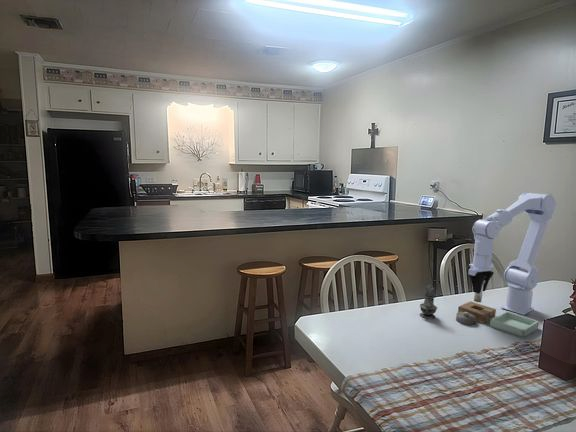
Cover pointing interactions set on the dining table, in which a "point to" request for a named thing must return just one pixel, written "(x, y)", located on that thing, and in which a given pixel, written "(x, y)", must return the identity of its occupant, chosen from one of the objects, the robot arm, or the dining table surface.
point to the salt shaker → (428, 304)
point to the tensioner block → (474, 313)
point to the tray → (514, 324)
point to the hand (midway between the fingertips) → (479, 291)
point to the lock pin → (479, 295)
